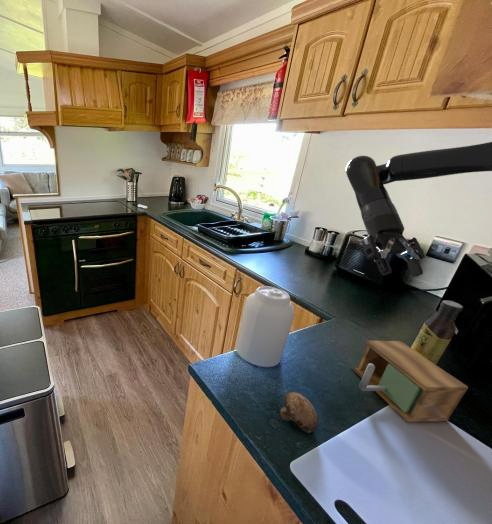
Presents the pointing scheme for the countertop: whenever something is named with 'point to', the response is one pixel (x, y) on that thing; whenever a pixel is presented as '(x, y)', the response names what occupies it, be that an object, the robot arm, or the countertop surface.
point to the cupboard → (414, 380)
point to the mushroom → (299, 412)
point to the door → (392, 386)
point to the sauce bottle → (437, 331)
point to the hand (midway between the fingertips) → (402, 274)
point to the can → (265, 326)
